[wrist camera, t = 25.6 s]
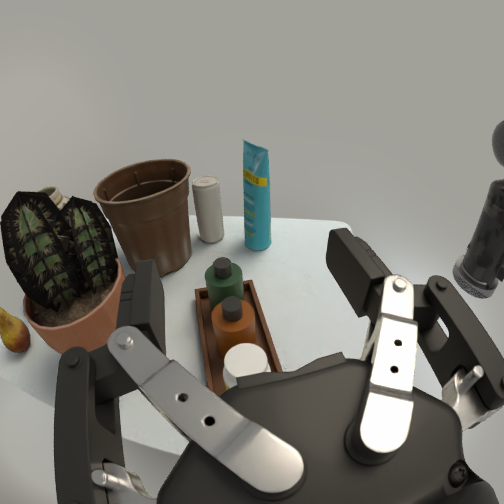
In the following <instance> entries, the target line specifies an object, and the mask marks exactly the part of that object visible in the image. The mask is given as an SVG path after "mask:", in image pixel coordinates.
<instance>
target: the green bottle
mask: <svg viewBox="0 0 504 504" xmlns="http://www.w3.org/2000/svg"><path fill="white" fill-rule="evenodd" d="M205 280H206V286H207V291H208V296H209V301H210V306H211V311H213V309H214V308H215V307H216V306H217V305H218V304H219V303H221V302H222V301H223V300H224V299H225V298H227V297H230V296H234V297H237V298H239V299H240V300H243V301H244V291H243V277H242V270H241V268H240V267H239V266H238V265H236V264H234V263H231V261H230V260H229V259H228V258H225V257H221V258H218V259H216V260H215V261H214V262H213V265H212V266H210V267H209V268H208V269H207V271H206V273H205Z"/></svg>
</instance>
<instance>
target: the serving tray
mask: <svg viewBox="0 0 504 504" xmlns="http://www.w3.org/2000/svg"><path fill="white" fill-rule="evenodd" d="M243 291H244V301H245V302H247V303H249V304H250V305H251V306H252V308H253V310H254V313H255V336H256V345H257V346H259V347H260V348H261V349H263V351H264V352H265V353H266V356H267V362H268V364H269V366H270V370H271V372H283V371H282V368H281V365H280V362H279V359H278V356H277V353H276V350H275V347H274V344H273V341H272V338H271V335H270V332H269V329H268V326H267V324H266V321H265V318H264V315H263V312H262V309H261V306H260V303H259V300H258V297H257V294H256V291H255V288H254V285H253V282H252V280H247V281H243ZM195 297H196V306H197V314H198V322H199V330H200V337H201V345H202V352H203V358H204V365H205V372H206V378H207V384H208V389H209V390H211V391H212V392H213V393H214V394H216V395H217V396H218V397H219V396H220V395H221V394H222V393H223V392H225V391H226V386H225V382H224V378H223V369H224V359H223V358H222V357H221V356H220V354H219V350H218V346H217V341H216V337H215V332H214V328H213V323H212V318H211V315H212V311H211V306H210V301H209V296H208V291H207V287H206V288H200V289H195Z"/></svg>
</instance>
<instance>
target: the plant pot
mask: <svg viewBox="0 0 504 504" xmlns="http://www.w3.org/2000/svg"><path fill="white" fill-rule="evenodd" d="M190 173H191V169H190V167H189V165H188V164H186V163H185V162H182V161H180V160H175V159H159V160H149V161H145V162H140V163H136V164H132V165H129V166H126V167H124V168H121V169H119V170H117V171H115V172H113V173H111V174H110V175H108V176H107V177H105V178H104V179H103V180H102V181H100V182H99V183H98V185H97V186H96V187H95V189H94V192H93V195H94V198H95V200H96V201H98V202H99V203H100V205H101V207H102V209H103V212H104V214H105V216H106V218H107V219H109V221H110V224H111V226H112V228H113V230H114V233H115V235H116V237H117V239H118V241H119V244H120V246H121V248H122V250H123V252H124V254H125V256H126V258H127V261H128V263H129V265H130V267H131V269H132V270H133V271H134V272H135V271H136V264H137V261H143V260H149V259H154V260H155V263H156V266H157V270H158V273H159V276H164V275H165V274H166V273H168V272H171V271H176V270H178V269H179V268H181V267H182V266H183V265H184V264H185V263H186V262H187V261H188V259H189V257H190V255H191V241H190V229H189V216H188V200H187V197H188V194H189V183H188V178H189V176H190Z"/></svg>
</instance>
